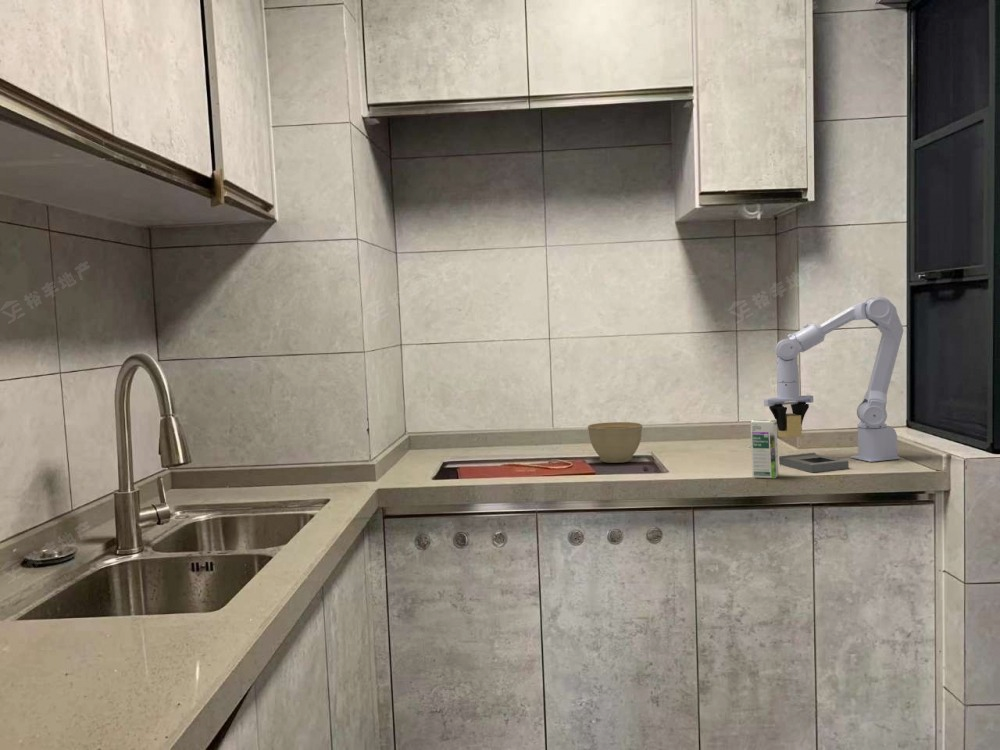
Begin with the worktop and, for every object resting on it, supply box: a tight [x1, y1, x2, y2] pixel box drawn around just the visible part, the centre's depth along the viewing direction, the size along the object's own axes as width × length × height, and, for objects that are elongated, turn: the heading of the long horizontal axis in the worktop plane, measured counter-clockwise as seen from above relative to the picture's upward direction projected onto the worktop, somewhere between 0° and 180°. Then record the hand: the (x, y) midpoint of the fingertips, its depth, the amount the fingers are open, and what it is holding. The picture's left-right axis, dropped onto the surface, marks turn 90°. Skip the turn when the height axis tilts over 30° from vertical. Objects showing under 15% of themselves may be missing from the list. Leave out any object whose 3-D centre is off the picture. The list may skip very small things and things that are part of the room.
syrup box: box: [749, 418, 780, 479], centre depth 196 cm, size 6×6×14 cm
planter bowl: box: [587, 421, 643, 464], centre depth 231 cm, size 16×16×11 cm
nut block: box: [777, 412, 803, 439], centre depth 217 cm, size 4×4×6 cm
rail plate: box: [778, 452, 850, 474], centre depth 205 cm, size 11×14×2 cm
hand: (789, 429), depth 217 cm, fingers closed on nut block, 4 cm apart
